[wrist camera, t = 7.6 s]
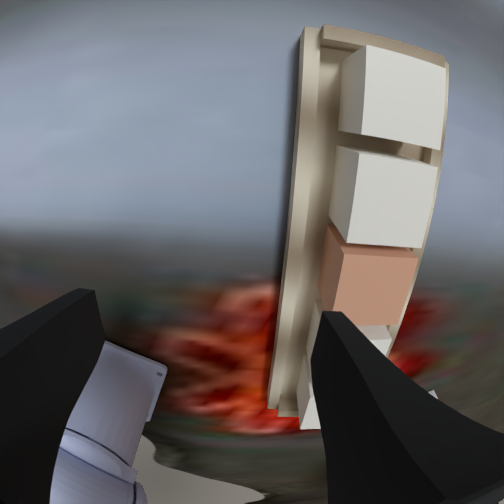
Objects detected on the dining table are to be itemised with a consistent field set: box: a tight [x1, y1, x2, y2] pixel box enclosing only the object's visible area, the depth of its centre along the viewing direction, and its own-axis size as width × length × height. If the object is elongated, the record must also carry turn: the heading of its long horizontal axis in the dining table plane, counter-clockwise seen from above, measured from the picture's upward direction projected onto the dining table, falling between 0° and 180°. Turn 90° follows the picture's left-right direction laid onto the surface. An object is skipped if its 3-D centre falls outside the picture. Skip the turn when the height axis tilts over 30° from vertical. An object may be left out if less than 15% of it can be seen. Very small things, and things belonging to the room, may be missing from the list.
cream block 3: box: [328, 145, 438, 248], centre depth 14 cm, size 4×4×4 cm
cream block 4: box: [306, 300, 392, 381], centre depth 18 cm, size 4×4×4 cm
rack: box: [267, 24, 449, 417], centre depth 18 cm, size 26×8×3 cm, turn 177°
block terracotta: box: [318, 225, 418, 325], centre depth 16 cm, size 4×4×4 cm
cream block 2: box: [338, 45, 446, 150], centre depth 12 cm, size 4×4×4 cm
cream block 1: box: [296, 355, 321, 429], centre depth 20 cm, size 4×4×4 cm
